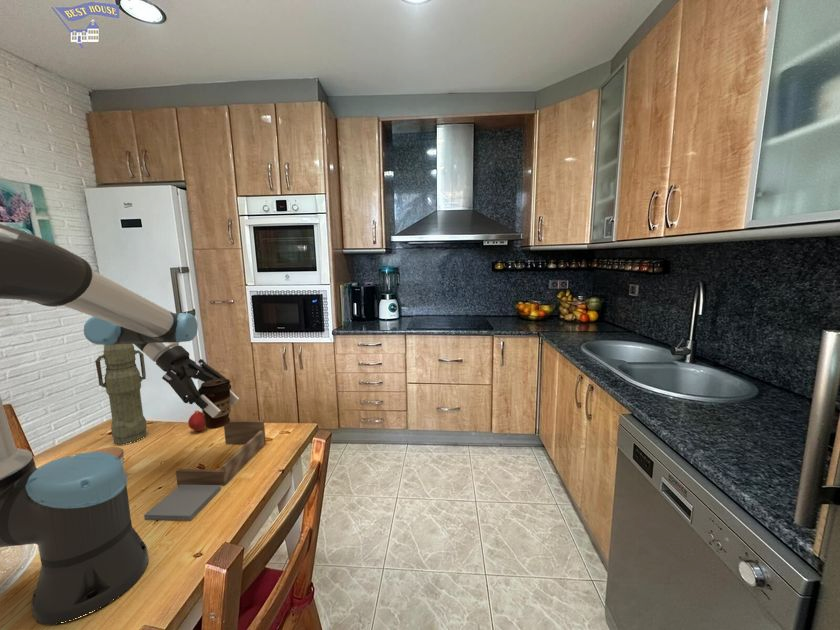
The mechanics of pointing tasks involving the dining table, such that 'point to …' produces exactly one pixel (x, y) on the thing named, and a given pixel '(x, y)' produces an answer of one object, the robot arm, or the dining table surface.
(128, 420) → the thermos
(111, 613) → the dining table surface
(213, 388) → the coffee cup
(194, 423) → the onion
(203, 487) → the slate pad
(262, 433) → the u-shaped wooden frame
